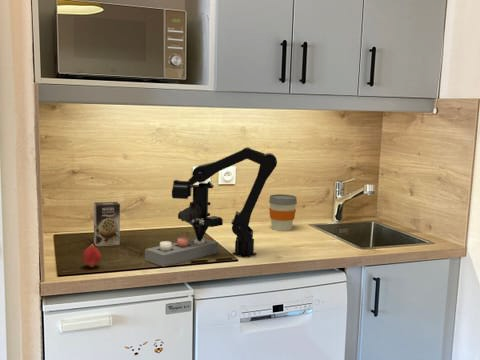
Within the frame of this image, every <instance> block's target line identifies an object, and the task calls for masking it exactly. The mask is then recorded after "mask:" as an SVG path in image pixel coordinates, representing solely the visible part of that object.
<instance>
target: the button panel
mask: <svg viewBox="0 0 480 360" xmlns="http://www.w3.org/2000/svg"><path fill="white" fill-rule="evenodd" d="M194 240H197V237H195V238H194V237H193V238H191V239H189V246H188V247H185V248H180V247H177V242H171V251H167V252H163V251H160V245H157V246H154V247H149V248H145V250H144V261H146V262H150V263H152V264H155V265H158V266H160V267H162V268H163V267H164V268H165V267H169V266H171V265H172V266H173V265H175V264H179V263H184V262H187V261H192V260H195V259H199V257H200V258H202V257H203V256H204V257H207V255H208V256H212V255H215V254H219V241H214V240H212V239H211V240H210V239H207V238H204V237H203V238H202V240H205V243H202V244H196V243H194Z"/></svg>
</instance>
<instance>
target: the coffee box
mask: <svg viewBox="0 0 480 360" xmlns="http://www.w3.org/2000/svg"><path fill="white" fill-rule="evenodd" d="M120 223H121V204H120V203H119V202H118V201H103V202H102V201H101V202H94V203H93V245H94V247H107V246H108V247H110V246H120V245H121V244H120V243H121V242H120V239H121V235H120V234H121V233H120V232H121V231H120V229H121V224H120Z"/></svg>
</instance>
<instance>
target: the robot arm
mask: <svg viewBox="0 0 480 360" xmlns="http://www.w3.org/2000/svg"><path fill="white" fill-rule="evenodd" d="M245 160H249V161H251V162H254V163H256V164H259V167H258V171H257V176H256V178H255V179H254V182H253V184H252V187H251V189H250V191H249V193H248V195H247V198H246V199H245V202H244V205H243V207H242V209H241V210H240V211H236V212H235V215H234V217H233V219H232V220H231V223H230V224H231V225H232V226H231V230H232V233H233V234H234V235H236V237H235V243H234V244H235V246H234V251H233V252H232V254H233V255H235V256H239V257H242V258H249V257H251V256H255V255H257V253H256V252H254V249H255V238H253V237H254V230H253V229H252V227H250V226H249V225H250V221H251V216H252V213H253V211H254V208H255V206H256V204H257V202H258V200H259V198H260V195H261V193H262V191H263V188H264V186H265V184H266V182H267V180H268V178H269V177H270V176H271V175H272V173H273V172H274V170H276V169H275V168H276V167H277V164H278V160H277V157H276V155H275V154H273V153H270V152H268V153H264V152H261V151H258V150H255V149H253V148H251V147H249V146H246V147H244V148H243V149H241V150H239V151H236V152H234V153H231V154H229V155H227V156H225V157H223V158H220V159H218V160H216V161H212V162H208V163H204V164H199V165H197V166H196V167H195V168H194V169H193V170H192V173H191V175H192V176H191V177H190V178H188V180H179V179H173V182H172V183H173V184H172V189H171V198H172V199H179V200H188V199H189V197H192V201H190V202H189V207H186V208H184V209H183V210H180V211H179V212H178V214H177V218H178V220H180V221H181V222H185V223H188V224H189V225H191V226H192V228H193V230H194V234H195V236H196V237H195V238H197V240H198V241H201V240H202V238H204V236H205V235H206V232H207V230H208V229H209V228H215V227H218V226H219V227H220V226H223V222H224V219H223V218H222V217H220V216H216V215H213V216H211V213H210V212H209V206H211V202H210V201H209V189H213V188H214V187H215V186H214V184H213V183H212V182H211V181H210V180H208V179H210V178H211V177H213V176H214V175H215V174H217V173H218V172H221V171H223V170H224V169H227V168H229V167H231V166H232V167H233V166H234V165H236V164H239V163H241V162H243V161H245ZM207 180H208V181H207ZM206 181H207V182H206ZM197 183H198V184H197Z"/></svg>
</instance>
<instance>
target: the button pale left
mask: <svg viewBox="0 0 480 360" xmlns="http://www.w3.org/2000/svg"><path fill="white" fill-rule="evenodd" d="M171 243H172V241H169V240H165V241H164V240H163V241H160V242H159V246H160V251H163V252H167V251H171Z"/></svg>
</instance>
